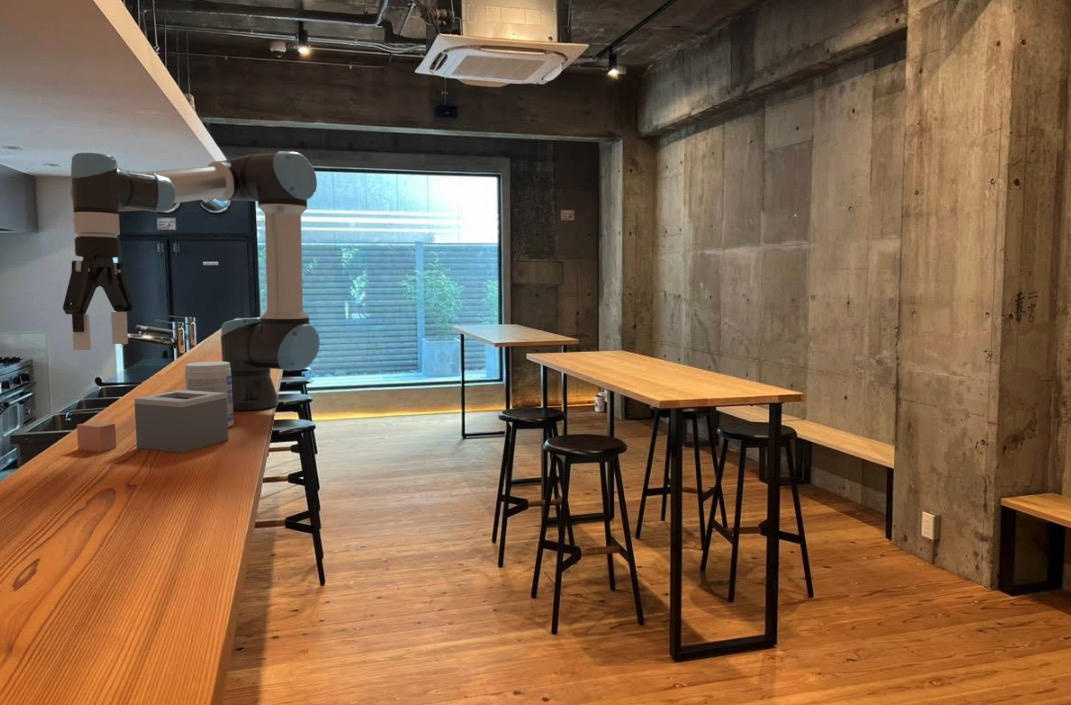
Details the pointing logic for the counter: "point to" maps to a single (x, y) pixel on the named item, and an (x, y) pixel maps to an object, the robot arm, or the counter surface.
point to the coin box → (181, 420)
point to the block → (96, 436)
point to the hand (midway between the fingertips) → (102, 346)
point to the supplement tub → (211, 380)
